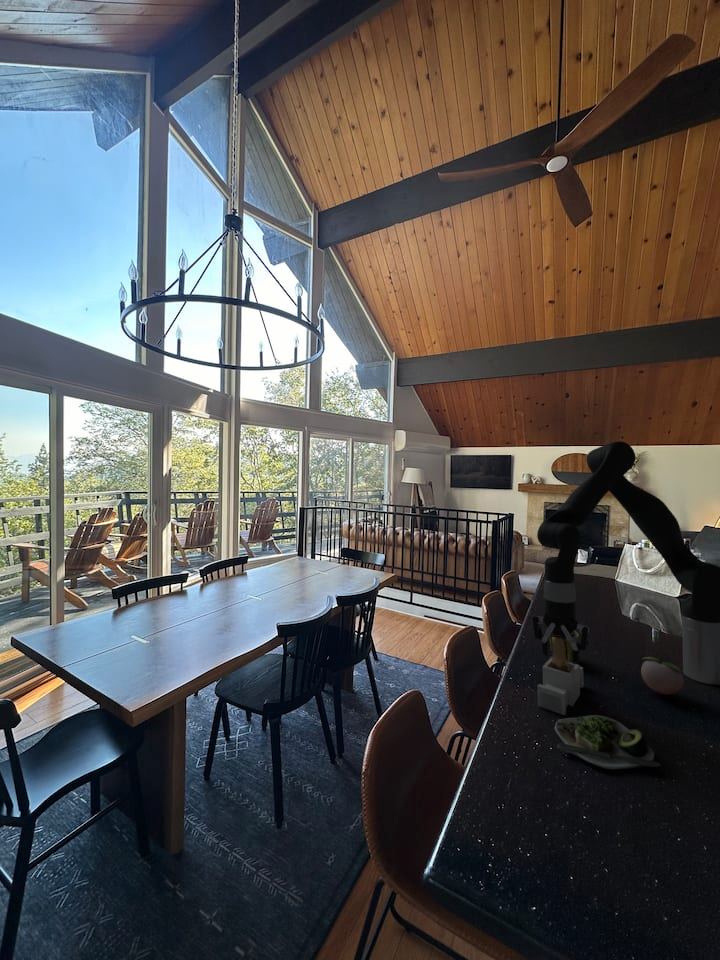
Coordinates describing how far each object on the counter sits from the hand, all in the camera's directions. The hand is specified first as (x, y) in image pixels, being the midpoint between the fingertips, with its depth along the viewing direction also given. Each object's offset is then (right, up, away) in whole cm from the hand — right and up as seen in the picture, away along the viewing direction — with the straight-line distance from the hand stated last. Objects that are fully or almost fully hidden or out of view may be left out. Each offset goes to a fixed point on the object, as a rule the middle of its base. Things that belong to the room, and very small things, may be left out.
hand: (560, 659), depth 107 cm
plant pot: (+11, -10, +21) cm, 26 cm away
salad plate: (0, -11, -20) cm, 22 cm away
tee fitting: (0, -10, 0) cm, 10 cm away
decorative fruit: (+26, -9, -1) cm, 28 cm away
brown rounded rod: (0, -6, 0) cm, 6 cm away
